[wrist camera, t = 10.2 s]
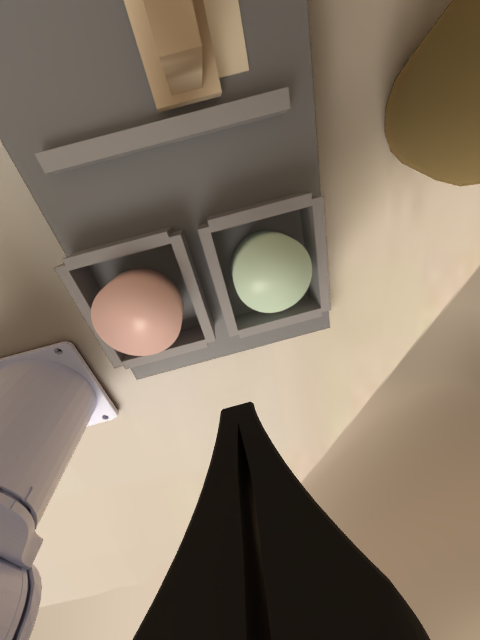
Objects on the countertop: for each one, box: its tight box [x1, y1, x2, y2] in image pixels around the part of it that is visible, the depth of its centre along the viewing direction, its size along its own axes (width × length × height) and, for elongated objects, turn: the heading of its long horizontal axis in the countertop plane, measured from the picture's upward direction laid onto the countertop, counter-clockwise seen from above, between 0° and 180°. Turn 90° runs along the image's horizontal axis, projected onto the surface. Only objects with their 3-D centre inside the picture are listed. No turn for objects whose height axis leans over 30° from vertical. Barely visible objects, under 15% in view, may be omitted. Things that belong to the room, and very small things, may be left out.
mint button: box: [230, 230, 312, 313], centre depth 15 cm, size 4×4×2 cm
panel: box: [0, 0, 331, 380], centre depth 13 cm, size 15×22×4 cm
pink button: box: [91, 268, 184, 356], centre depth 14 cm, size 4×4×2 cm
